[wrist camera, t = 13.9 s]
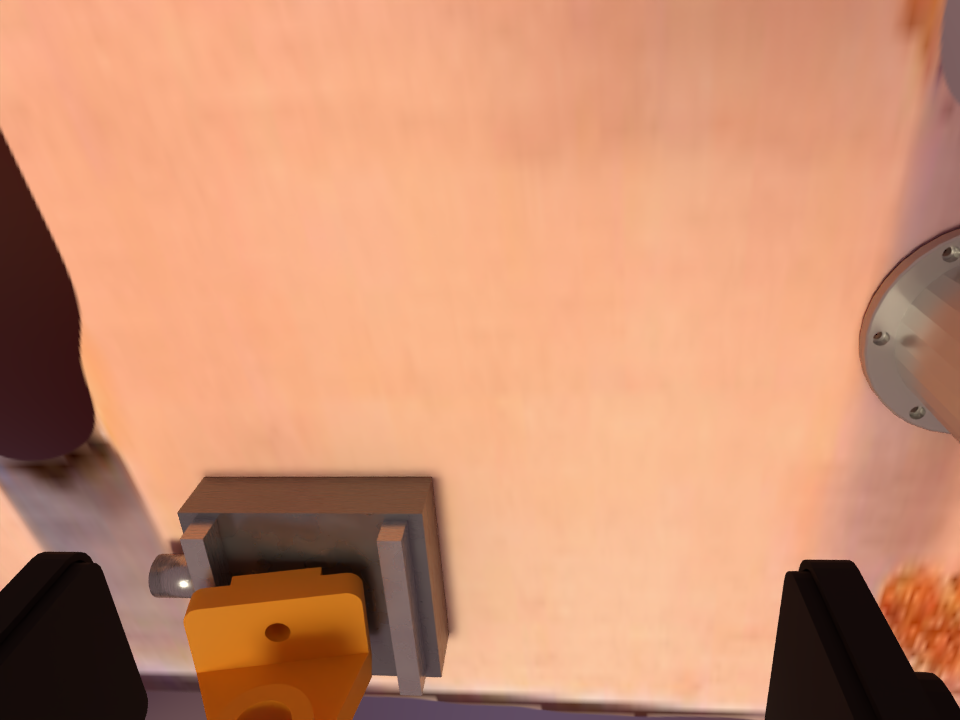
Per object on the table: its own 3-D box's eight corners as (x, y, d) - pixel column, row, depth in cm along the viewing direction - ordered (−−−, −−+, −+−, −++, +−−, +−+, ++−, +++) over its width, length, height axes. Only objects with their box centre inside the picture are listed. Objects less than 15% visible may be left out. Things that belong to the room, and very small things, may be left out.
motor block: (431, 477, 49) (416, 534, 44) (448, 633, 55) (437, 701, 50) (149, 477, 51) (101, 531, 46) (195, 628, 57) (157, 692, 52)
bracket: (361, 562, 48) (356, 720, 37) (372, 645, 51) (370, 814, 40) (190, 580, 47) (133, 748, 36) (211, 664, 50) (165, 842, 39)
